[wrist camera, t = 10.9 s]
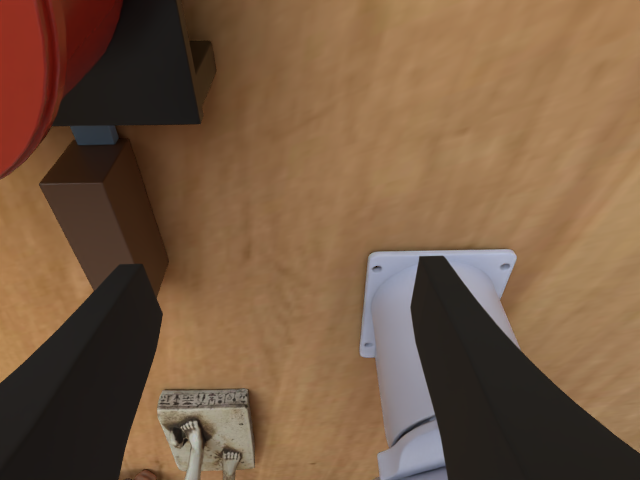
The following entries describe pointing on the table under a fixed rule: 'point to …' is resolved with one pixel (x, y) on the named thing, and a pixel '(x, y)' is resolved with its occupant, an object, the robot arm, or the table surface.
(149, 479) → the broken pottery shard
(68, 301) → the table surface
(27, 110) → the pot
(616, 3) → the table surface
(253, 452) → the statue
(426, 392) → the robot arm
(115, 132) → the spatula
